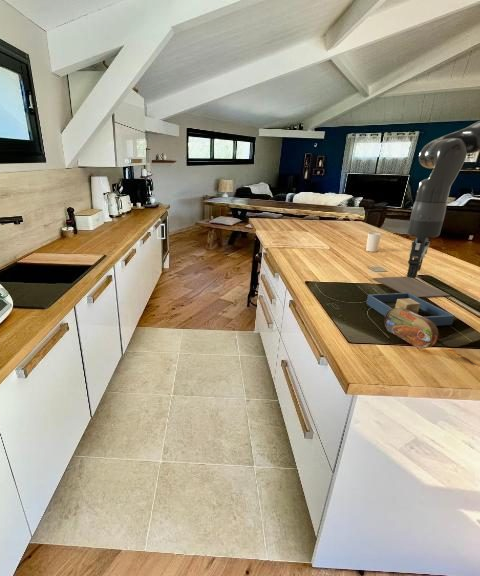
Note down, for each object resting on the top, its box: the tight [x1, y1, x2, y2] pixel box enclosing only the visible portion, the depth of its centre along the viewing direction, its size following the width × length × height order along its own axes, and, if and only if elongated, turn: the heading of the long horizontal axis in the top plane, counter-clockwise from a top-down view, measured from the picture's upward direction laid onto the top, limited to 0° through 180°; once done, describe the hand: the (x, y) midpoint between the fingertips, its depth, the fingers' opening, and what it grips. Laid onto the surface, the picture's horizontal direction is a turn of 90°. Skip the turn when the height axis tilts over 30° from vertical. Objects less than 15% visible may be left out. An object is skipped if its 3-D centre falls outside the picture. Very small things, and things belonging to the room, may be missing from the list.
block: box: [394, 298, 420, 315], centre depth 103 cm, size 5×5×5 cm
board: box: [372, 276, 452, 299], centre depth 125 cm, size 16×22×2 cm
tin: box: [384, 307, 439, 350], centre depth 88 cm, size 15×3×8 cm, turn 13°
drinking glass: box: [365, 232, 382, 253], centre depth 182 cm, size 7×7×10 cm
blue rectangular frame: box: [365, 292, 455, 327], centre depth 103 cm, size 15×19×4 cm
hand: (413, 273), depth 92 cm, fingers open, 8 cm apart
